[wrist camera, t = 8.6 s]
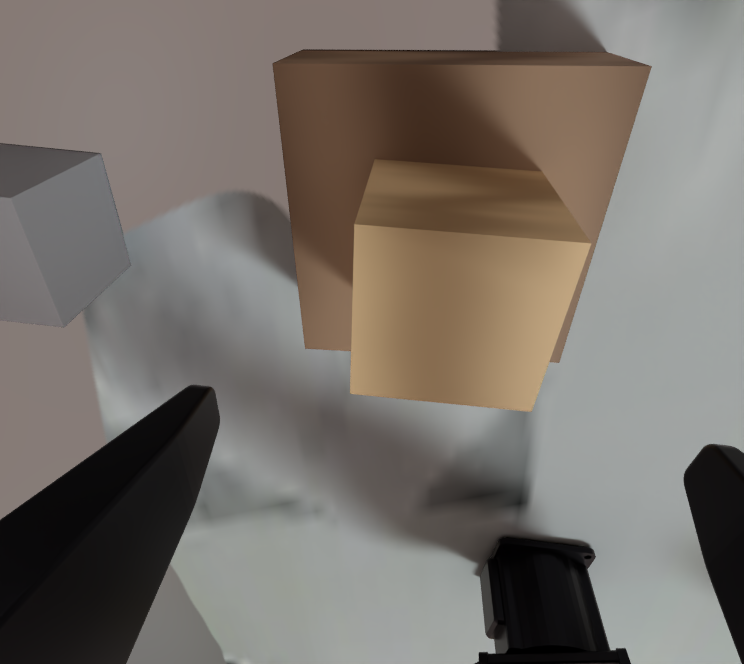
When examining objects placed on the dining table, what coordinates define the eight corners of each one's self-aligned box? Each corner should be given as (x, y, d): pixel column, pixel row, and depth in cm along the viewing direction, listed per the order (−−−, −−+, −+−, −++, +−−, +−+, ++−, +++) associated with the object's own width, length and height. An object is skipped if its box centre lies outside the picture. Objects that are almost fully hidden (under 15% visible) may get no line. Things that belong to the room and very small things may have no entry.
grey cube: (101, 153, 18) (10, 198, 14) (131, 264, 21) (64, 327, 17) (-21, 141, 18) (-144, 182, 14) (27, 253, 21) (-64, 313, 17)
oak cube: (542, 171, 14) (591, 243, 10) (505, 311, 17) (531, 411, 13) (374, 159, 14) (354, 224, 10) (368, 299, 17) (350, 393, 13)
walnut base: (603, 51, 15) (651, 66, 12) (538, 306, 21) (559, 362, 18) (303, 49, 16) (272, 63, 13) (322, 296, 22) (305, 348, 19)
